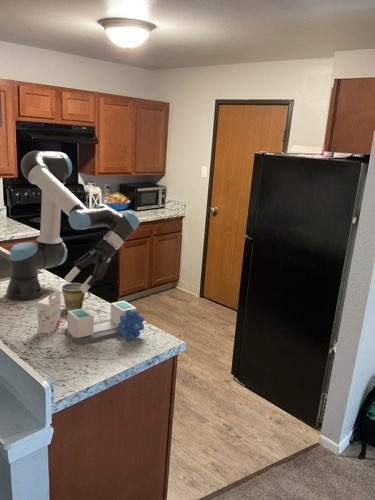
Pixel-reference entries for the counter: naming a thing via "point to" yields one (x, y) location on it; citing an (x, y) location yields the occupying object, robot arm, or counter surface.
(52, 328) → the ink cartridge box
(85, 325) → the rail board
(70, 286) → the ceramic cup
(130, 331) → the blue thick lobed disc
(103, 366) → the counter surface
